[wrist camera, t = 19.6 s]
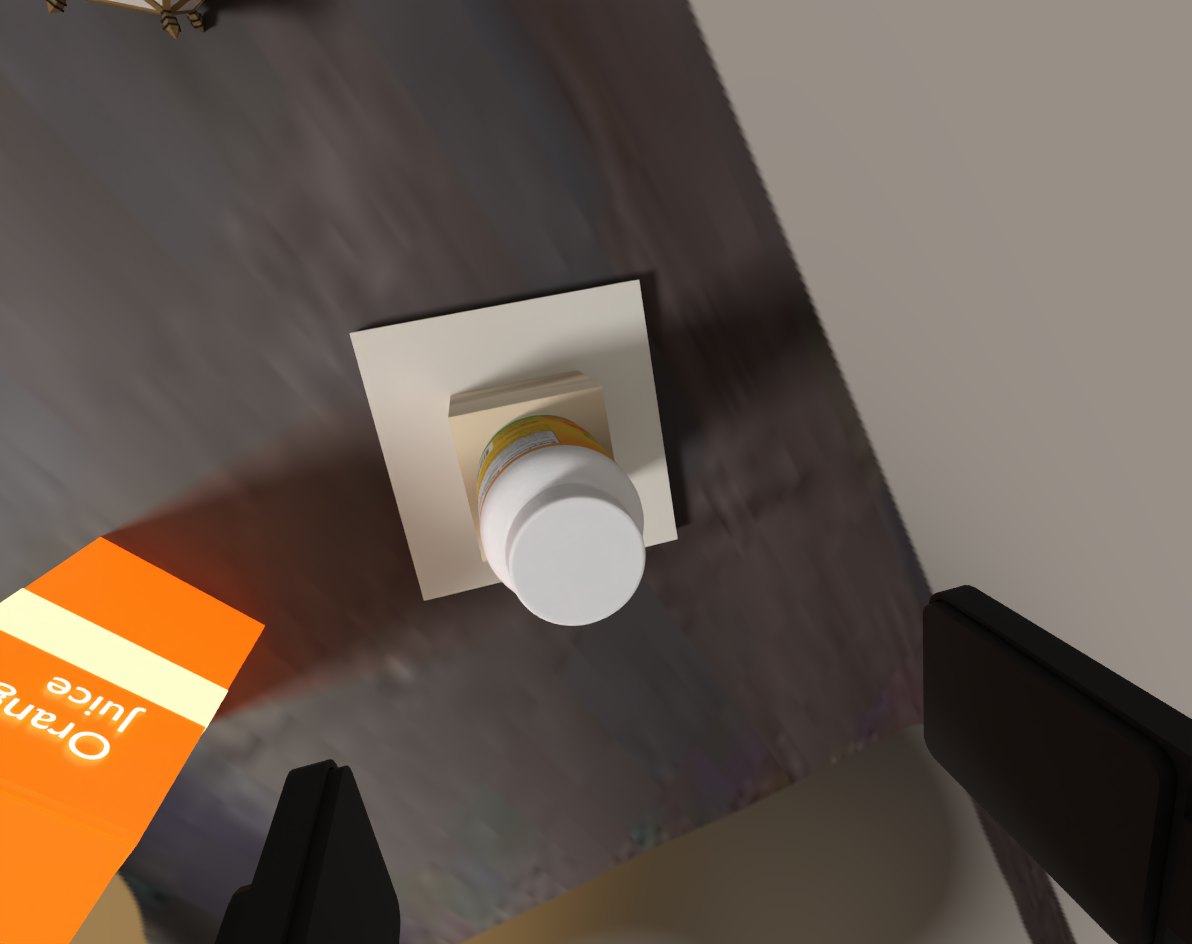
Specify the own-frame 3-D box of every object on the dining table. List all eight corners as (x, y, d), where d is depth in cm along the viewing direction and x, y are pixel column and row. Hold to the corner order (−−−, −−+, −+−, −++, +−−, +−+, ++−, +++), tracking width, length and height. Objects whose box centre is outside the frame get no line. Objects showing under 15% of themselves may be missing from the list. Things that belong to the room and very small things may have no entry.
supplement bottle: (623, 497, 29) (699, 592, 20) (513, 556, 29) (539, 681, 19) (568, 388, 27) (623, 437, 18) (451, 449, 27) (446, 530, 18)
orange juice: (101, 533, 32) (-424, 884, 13) (268, 624, 35) (37, 1023, 16) (13, 656, 33) (-607, 1160, 14) (184, 736, 35) (-135, 1247, 16)
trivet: (353, 331, 32) (349, 333, 31) (633, 280, 34) (639, 279, 33) (425, 591, 36) (423, 600, 35) (670, 531, 38) (677, 539, 37)
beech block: (450, 395, 32) (448, 417, 27) (577, 370, 33) (602, 385, 27) (479, 517, 34) (483, 561, 28) (599, 489, 35) (626, 527, 29)
